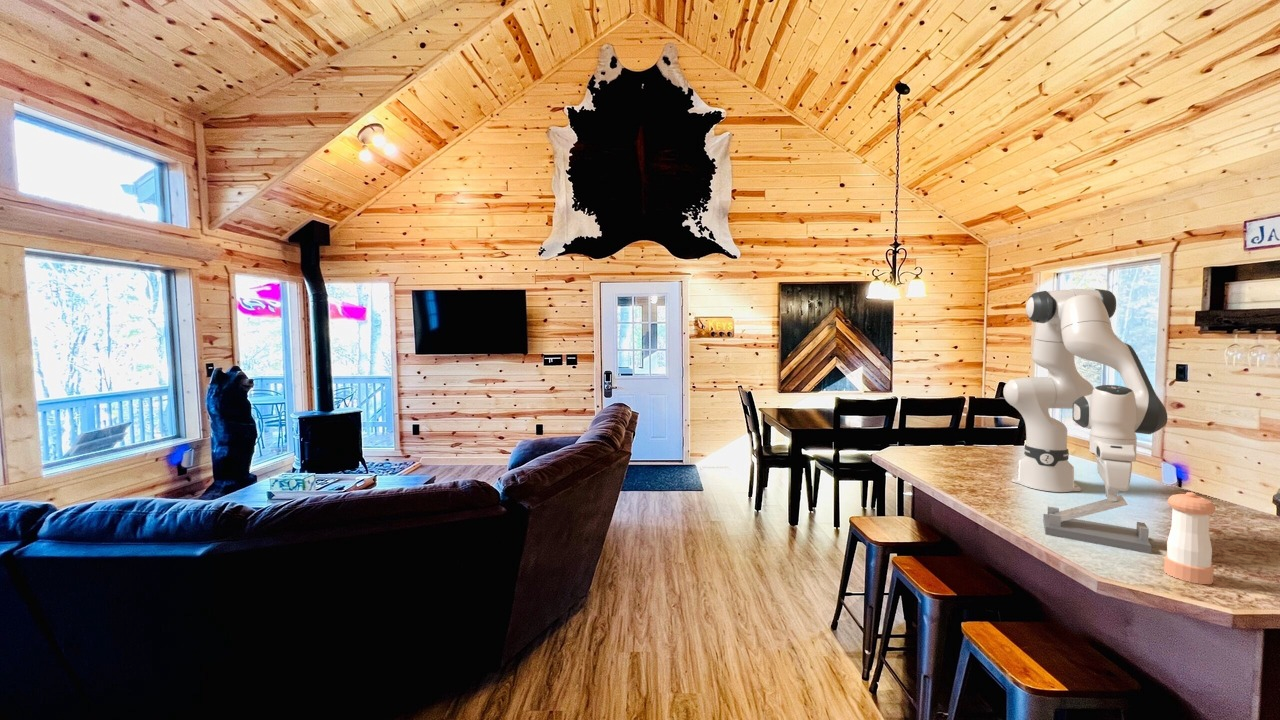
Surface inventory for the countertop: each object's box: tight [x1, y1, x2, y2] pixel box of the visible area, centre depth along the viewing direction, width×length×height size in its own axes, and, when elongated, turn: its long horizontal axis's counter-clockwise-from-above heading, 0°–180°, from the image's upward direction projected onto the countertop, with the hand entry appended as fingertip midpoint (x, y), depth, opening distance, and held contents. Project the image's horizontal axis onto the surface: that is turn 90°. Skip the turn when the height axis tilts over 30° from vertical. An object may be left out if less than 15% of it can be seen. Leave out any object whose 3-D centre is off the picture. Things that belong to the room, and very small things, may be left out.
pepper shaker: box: [1163, 491, 1216, 585], centre depth 107 cm, size 7×7×19 cm
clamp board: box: [1042, 505, 1152, 555], centre depth 129 cm, size 12×20×5 cm, turn 52°
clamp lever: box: [1050, 495, 1129, 522], centre depth 130 cm, size 5×17×2 cm, turn 52°
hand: (1111, 499), depth 126 cm, fingers closed, pressing on clamp lever
